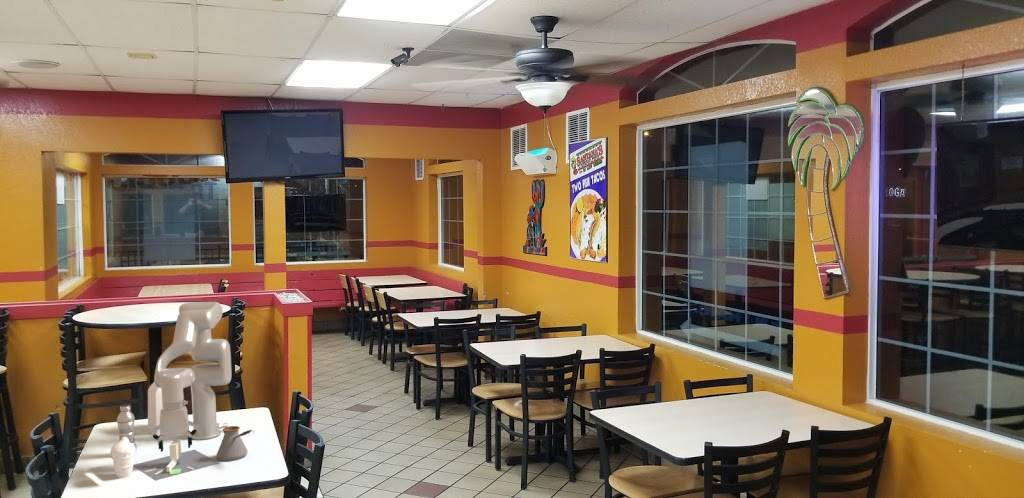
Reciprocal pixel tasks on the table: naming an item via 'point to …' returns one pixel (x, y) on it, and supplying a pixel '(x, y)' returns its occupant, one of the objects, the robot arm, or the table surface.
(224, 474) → the table surface
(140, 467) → the plate
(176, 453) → the peg head
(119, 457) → the soft serve ice cream cone
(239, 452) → the coffee pot
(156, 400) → the milk
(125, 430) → the plastic bottle
